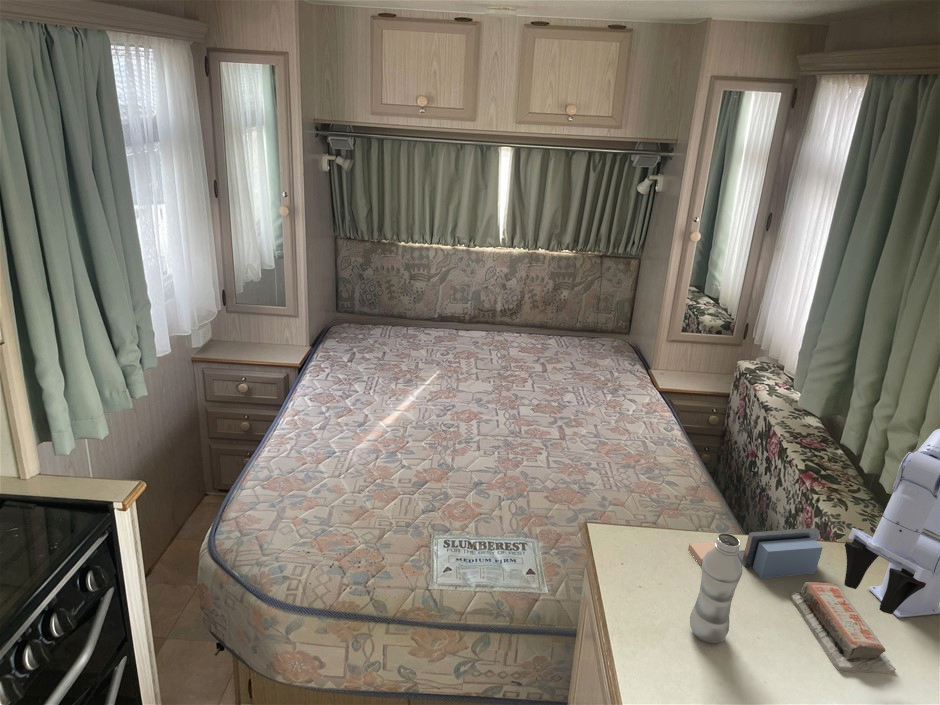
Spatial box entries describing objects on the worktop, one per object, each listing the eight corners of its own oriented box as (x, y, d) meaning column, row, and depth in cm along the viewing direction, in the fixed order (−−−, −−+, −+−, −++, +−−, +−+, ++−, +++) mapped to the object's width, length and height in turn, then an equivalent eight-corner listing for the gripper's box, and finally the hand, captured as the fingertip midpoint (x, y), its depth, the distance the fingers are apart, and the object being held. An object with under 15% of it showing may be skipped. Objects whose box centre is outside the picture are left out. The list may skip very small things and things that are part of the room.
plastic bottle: (701, 651, 117) (724, 555, 109) (680, 622, 123) (700, 529, 115) (734, 645, 118) (758, 550, 111) (711, 617, 124) (733, 525, 117)
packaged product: (793, 577, 129) (844, 579, 130) (787, 598, 131) (837, 599, 132) (844, 651, 113) (903, 653, 113) (837, 674, 114) (894, 675, 115)
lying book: (722, 548, 144) (724, 540, 144) (735, 564, 140) (737, 555, 139) (687, 551, 143) (689, 543, 142) (699, 567, 138) (701, 559, 137)
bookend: (798, 548, 145) (806, 518, 142) (810, 561, 141) (819, 531, 138) (733, 553, 142) (741, 523, 139) (744, 567, 138) (752, 536, 136)
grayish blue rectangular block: (805, 564, 141) (813, 537, 138) (814, 573, 138) (822, 547, 135) (752, 568, 138) (759, 541, 136) (760, 578, 136) (768, 551, 133)
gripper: (849, 500, 117) (817, 571, 119) (921, 538, 103) (883, 619, 105) (880, 510, 119) (848, 580, 121) (955, 549, 105) (917, 628, 107)
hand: (867, 599), depth 113 cm, fingers open, 7 cm apart
